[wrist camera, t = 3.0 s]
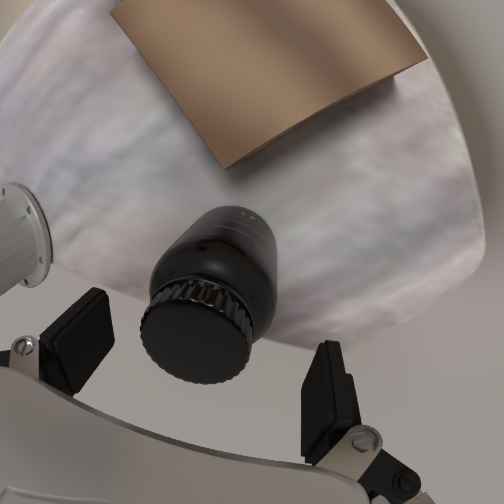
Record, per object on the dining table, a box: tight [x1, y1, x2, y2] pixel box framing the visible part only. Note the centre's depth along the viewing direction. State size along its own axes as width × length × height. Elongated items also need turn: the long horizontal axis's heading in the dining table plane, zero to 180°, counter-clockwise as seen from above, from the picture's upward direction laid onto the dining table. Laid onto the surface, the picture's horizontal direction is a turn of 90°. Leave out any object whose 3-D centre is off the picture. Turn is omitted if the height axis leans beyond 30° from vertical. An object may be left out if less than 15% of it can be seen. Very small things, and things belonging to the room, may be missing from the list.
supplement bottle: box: [140, 206, 277, 385], centre depth 16 cm, size 7×7×12 cm
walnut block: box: [109, 0, 428, 169], centre depth 13 cm, size 14×14×6 cm
